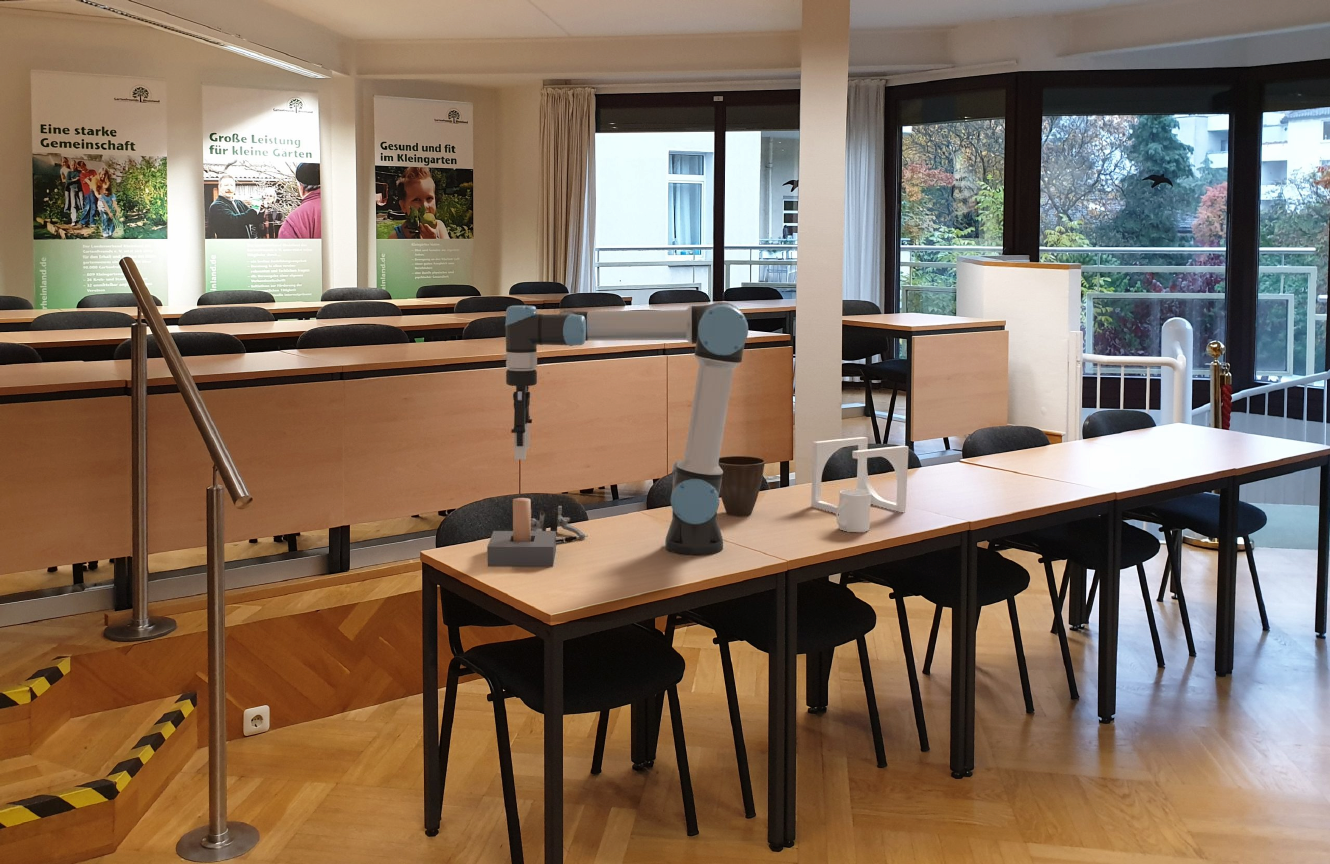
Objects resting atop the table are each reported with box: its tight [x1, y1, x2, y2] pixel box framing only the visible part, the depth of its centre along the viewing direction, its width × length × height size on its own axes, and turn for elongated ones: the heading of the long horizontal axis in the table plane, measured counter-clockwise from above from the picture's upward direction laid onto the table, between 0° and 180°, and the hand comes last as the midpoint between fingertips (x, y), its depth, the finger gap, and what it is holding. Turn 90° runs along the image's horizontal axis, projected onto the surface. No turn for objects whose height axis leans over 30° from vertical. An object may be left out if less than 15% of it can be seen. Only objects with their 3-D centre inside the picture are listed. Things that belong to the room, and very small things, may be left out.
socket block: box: [486, 530, 557, 568], centre depth 298 cm, size 16×16×5 cm
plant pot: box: [718, 455, 766, 517], centre depth 349 cm, size 15×15×16 cm
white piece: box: [810, 436, 909, 515], centre depth 357 cm, size 20×20×20 cm
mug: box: [835, 488, 871, 533], centre depth 330 cm, size 9×12×11 cm
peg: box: [512, 497, 532, 542], centre depth 297 cm, size 4×4×15 cm
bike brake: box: [531, 505, 589, 545], centre depth 318 cm, size 14×7×20 cm
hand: (522, 454), depth 294 cm, fingers open, 13 cm apart
